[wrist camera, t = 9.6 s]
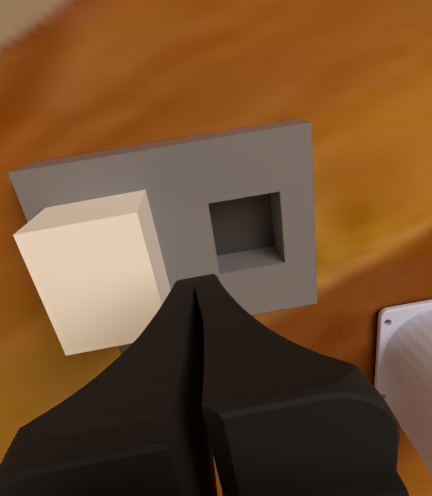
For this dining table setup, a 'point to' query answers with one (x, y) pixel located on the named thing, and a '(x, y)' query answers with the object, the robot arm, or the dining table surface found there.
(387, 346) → the robot arm
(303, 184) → the socket plate
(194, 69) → the dining table surface
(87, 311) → the plug
